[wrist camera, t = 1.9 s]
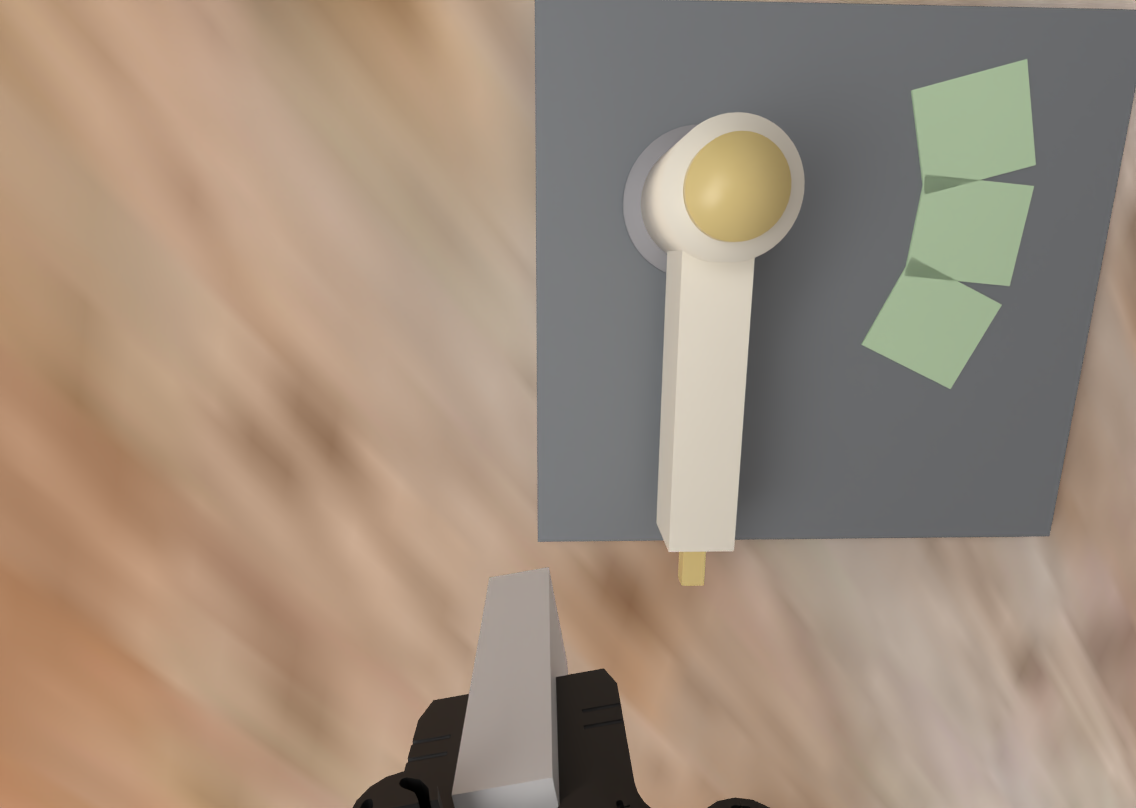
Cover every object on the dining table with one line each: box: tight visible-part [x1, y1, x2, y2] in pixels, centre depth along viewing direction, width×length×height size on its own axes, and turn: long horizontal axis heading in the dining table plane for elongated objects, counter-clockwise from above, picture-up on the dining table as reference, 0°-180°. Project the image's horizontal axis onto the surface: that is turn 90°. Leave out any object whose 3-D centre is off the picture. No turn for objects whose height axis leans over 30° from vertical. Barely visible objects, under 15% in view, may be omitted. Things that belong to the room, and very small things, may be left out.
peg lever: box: [641, 112, 805, 586], centre depth 26 cm, size 19×5×6 cm, turn 0°
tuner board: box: [535, 0, 1136, 542], centre depth 29 cm, size 24×26×2 cm
